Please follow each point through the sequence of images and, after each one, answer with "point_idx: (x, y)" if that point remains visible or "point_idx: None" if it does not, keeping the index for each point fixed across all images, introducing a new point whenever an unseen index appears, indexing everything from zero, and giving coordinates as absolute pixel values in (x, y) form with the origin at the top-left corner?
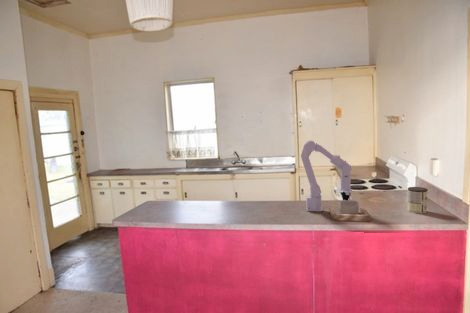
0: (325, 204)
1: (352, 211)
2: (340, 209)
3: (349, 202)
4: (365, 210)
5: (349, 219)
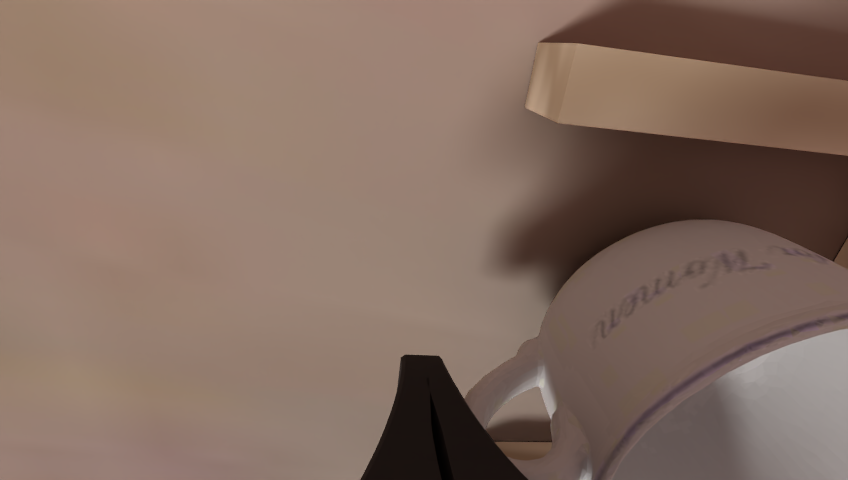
0: (59, 469)
1: (827, 351)
2: (673, 466)
3: (617, 403)
4: (785, 84)
5: None
